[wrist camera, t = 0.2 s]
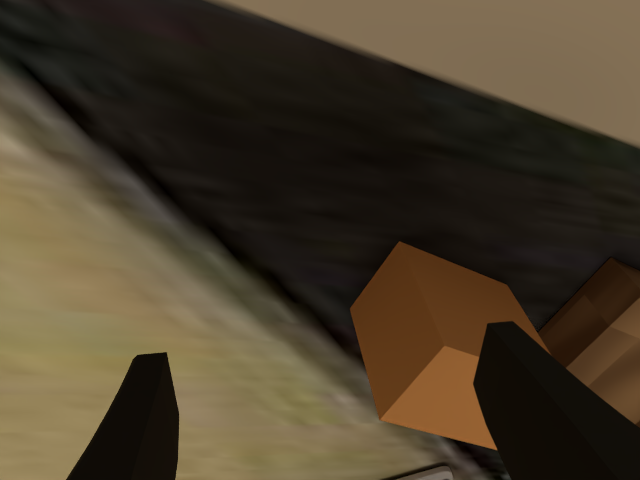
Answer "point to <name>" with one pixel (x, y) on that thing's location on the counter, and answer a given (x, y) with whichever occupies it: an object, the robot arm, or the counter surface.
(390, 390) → the tall wooden block
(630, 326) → the well
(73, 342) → the counter surface
